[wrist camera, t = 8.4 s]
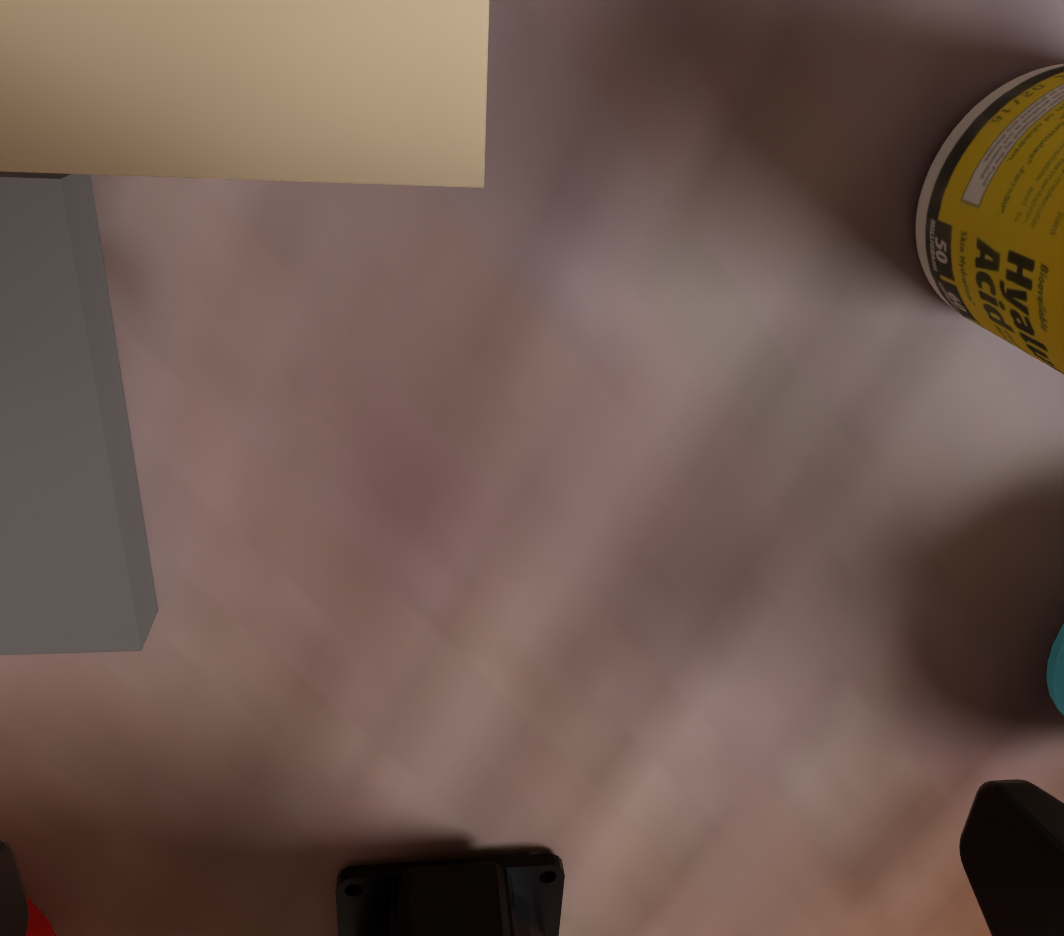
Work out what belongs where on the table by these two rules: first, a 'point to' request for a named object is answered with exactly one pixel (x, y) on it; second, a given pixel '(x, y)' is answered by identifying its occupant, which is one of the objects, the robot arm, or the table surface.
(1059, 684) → the teal vase
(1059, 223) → the supplement bottle
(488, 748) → the table surface
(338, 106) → the cover board
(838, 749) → the table surface
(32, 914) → the white ceramic hen
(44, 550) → the mat
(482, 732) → the table surface
